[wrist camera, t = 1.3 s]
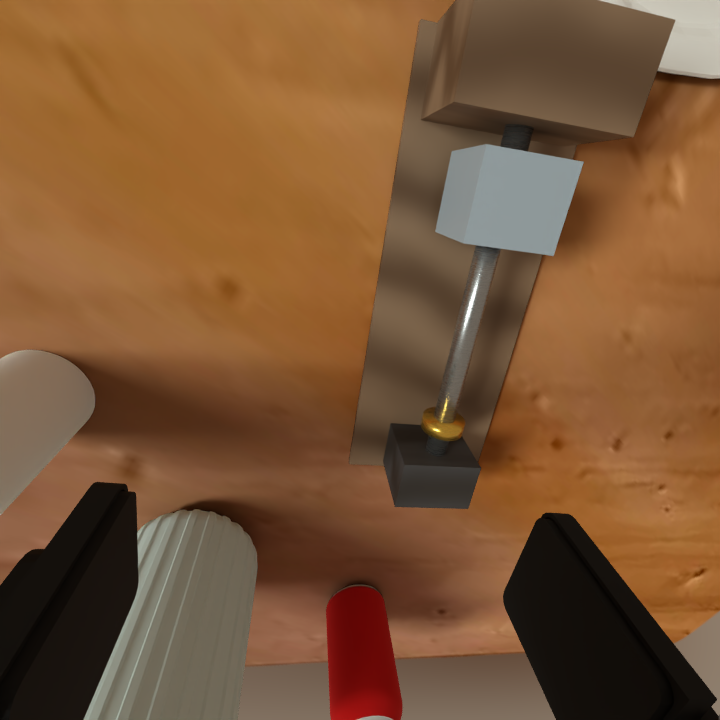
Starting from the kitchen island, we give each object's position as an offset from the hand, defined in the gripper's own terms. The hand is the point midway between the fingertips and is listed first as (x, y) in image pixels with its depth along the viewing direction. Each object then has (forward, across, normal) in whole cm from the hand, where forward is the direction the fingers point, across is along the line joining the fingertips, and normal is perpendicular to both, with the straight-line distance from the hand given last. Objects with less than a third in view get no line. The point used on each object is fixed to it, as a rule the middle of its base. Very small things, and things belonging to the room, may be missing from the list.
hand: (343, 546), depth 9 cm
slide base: (+23, -10, -2) cm, 25 cm away
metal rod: (+20, -10, 0) cm, 23 cm away
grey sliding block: (+21, -10, -9) cm, 25 cm away
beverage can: (+23, -8, +32) cm, 41 cm away
